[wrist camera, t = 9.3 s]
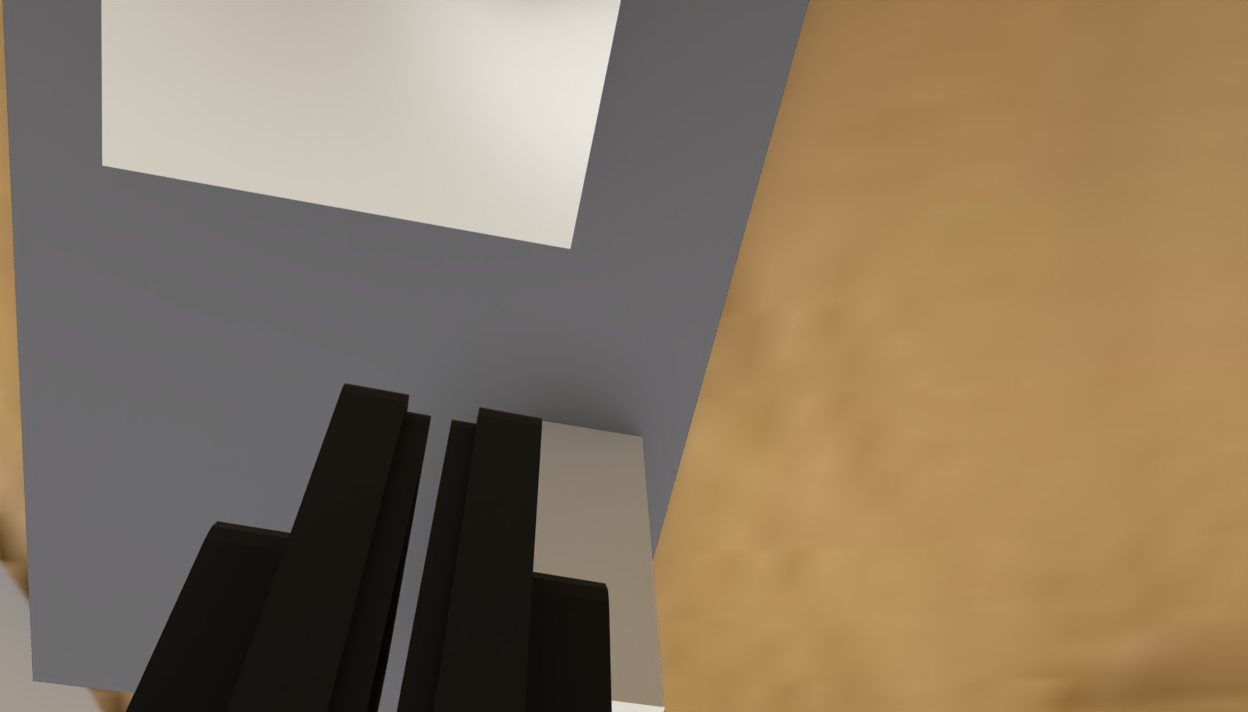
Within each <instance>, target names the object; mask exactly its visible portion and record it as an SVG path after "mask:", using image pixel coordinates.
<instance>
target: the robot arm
mask: <svg viewBox="0 0 1248 712" xmlns="http://www.w3.org/2000/svg"><path fill="white" fill-rule="evenodd" d="M408 403H409V394H404V393H398V392H392V391H387V390H381V389H375V388H370V387H364V386H359V385H353V384H347V383H345V384H344V385H343V388H342V390H341V392H340V395H339V398H338V401H337V404H336V407H335V409H334V412H333V415H332V418H331V421H330V423H329V426H328V429H327V432H326V435H325V437H324V440H323V443H322V446H321V449H320V451H319V454H318V457H317V460H316V463H315V465H314V468H313V471H312V474H311V477H310V479H309V482H308V485H307V488H306V491H305V493H304V496H303V499H302V502H301V505H300V508H299V510H298V513H297V516H296V519H295V522H294V524H293V527H292V530H291V533H288V532H282V531H276V530H270V529H263V528H257V527H251V526H245V525H239V524H232V523H226V522H220V521H217V522H216V523H215V524H214V525H212V527H211V528H210V530H209V532H208V534H207V536H206V538H205V539H204V542H203V544H202V546H201V548H200V550H199V553H198V555H197V557H196V559H195V561H194V564H193V566H192V568H191V570H190V572H189V575H188V577H187V579H186V581H185V583H184V586H183V588H182V590H181V592H180V594H179V596H178V599H177V601H176V603H175V605H174V607H173V610H172V612H171V614H170V616H169V618H168V621H167V623H166V625H165V627H164V629H163V632H162V634H161V636H160V638H159V640H158V643H157V645H156V647H155V649H154V651H153V654H152V656H151V658H150V660H149V662H148V664H147V667H146V669H145V671H144V673H143V675H142V678H141V680H140V682H139V684H138V686H137V689H136V691H135V693H134V695H133V697H132V700H131V702H130V704H129V706H128V708H127V711H126V712H378V709H379V704H380V700H381V695H382V690H383V685H384V680H385V675H386V669H387V664H388V659H389V653H390V648H391V642H392V637H393V631H394V625H395V620H396V614H397V608H398V603H399V597H400V591H401V586H402V580H403V574H404V569H405V563H406V557H407V552H408V546H409V540H410V535H411V529H412V523H413V518H414V512H415V506H416V501H417V495H418V489H419V484H420V478H421V472H422V467H423V461H424V455H425V449H426V444H427V438H428V432H429V427H430V421H431V416H430V415H425V414H419V413H413V412H408V411H407V410H408ZM541 436H542V418H538V417H533V416H527V415H521V414H516V413H510V412H505V411H499V410H493V409H488V408H482V407H480V408H479V412H478V416H477V421H476V423H470V422H464V421H459V420H453V419H452V420H451V426H450V431H449V436H448V441H447V447H446V452H445V457H444V463H443V468H442V473H441V479H440V484H439V489H438V495H437V500H436V505H435V510H434V516H433V521H432V526H431V532H430V537H429V542H428V548H427V553H426V558H425V564H424V569H423V574H422V579H421V585H420V590H419V595H418V601H417V606H416V611H415V617H414V622H413V627H412V633H411V638H410V643H409V648H408V654H407V659H406V664H405V670H404V675H403V680H402V686H401V691H400V696H399V702H398V707H397V712H612V696H611V655H610V614H609V595H608V588H607V586H606V584H605V583H600V582H594V581H588V580H582V579H575V578H569V577H563V576H557V575H551V574H544V573H538V572H533V565H534V549H535V533H536V517H537V501H538V485H539V469H540V452H541Z"/></svg>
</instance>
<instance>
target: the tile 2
mask: <svg viewBox="0 0 1248 712" xmlns="http://www.w3.org/2000/svg"><path fill="white" fill-rule="evenodd" d="M533 572H538V573H544V574H551V575H557V576H563V577H569V578H575V579H582V580H588V581H594V582H600V583H605V584H606V586H607V588H608V595H609V614H610V655H611V696H612V712H664V708H665V704H664V692H663V680H662V668H661V656H660V644H659V632H658V620H657V608H656V596H655V584H654V572H653V560H652V548H651V535H650V523H649V511H648V499H647V487H646V475H645V463H644V451H643V439H642V437H641V436H634V435H628V434H622V433H615V432H609V431H603V430H597V429H590V428H584V427H578V426H571V425H565V424H559V423H553V422H546V421H542V436H541V452H540V469H539V485H538V501H537V517H536V533H535V549H534V565H533Z"/></svg>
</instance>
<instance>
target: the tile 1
mask: <svg viewBox="0 0 1248 712" xmlns="http://www.w3.org/2000/svg"><path fill="white" fill-rule="evenodd" d="M620 2H621V0H101V23H102V166H108V167H113V168H119V169H125V170H130V171H136V172H141V173H147V174H153V175H158V176H164V177H169V178H175V179H181V180H186V181H192V182H197V183H203V184H209V185H214V186H220V187H225V188H231V189H237V190H242V191H248V192H253V193H259V194H265V195H270V196H276V197H281V198H287V199H293V200H298V201H304V202H309V203H315V204H321V205H326V206H332V207H337V208H343V209H349V210H354V211H360V212H365V213H371V214H377V215H382V216H388V217H393V218H399V219H405V220H410V221H416V222H421V223H427V224H433V225H438V226H444V227H449V228H455V229H461V230H466V231H472V232H477V233H483V234H489V235H494V236H500V237H505V238H511V239H517V240H522V241H528V242H533V243H539V244H545V245H550V246H556V247H561V248H567V249H570V248H571V243H572V238H573V233H574V228H575V223H576V218H577V213H578V209H579V204H580V199H581V194H582V189H583V184H584V179H585V174H586V169H587V164H588V159H589V155H590V150H591V145H592V140H593V135H594V130H595V125H596V120H597V115H598V110H599V105H600V101H601V96H602V91H603V86H604V81H605V76H606V71H607V66H608V61H609V56H610V52H611V47H612V42H613V37H614V32H615V27H616V22H617V17H618V12H619V7H620Z"/></svg>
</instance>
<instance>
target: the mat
mask: <svg viewBox="0 0 1248 712" xmlns="http://www.w3.org/2000/svg"><path fill="white" fill-rule="evenodd" d="M808 2H809V0H621V2H620V7H619V12H618V17H617V22H616V27H615V32H614V37H613V42H612V47H611V52H610V56H609V61H608V66H607V71H606V76H605V81H604V86H603V91H602V96H601V101H600V105H599V110H598V115H597V120H596V125H595V130H594V135H593V140H592V145H591V150H590V155H589V159H588V164H587V169H586V174H585V179H584V184H583V189H582V194H581V199H580V204H579V209H578V213H577V218H576V223H575V228H574V233H573V238H572V243H571V248H570V249H567V248H561V247H556V246H550V245H545V244H539V243H533V242H528V241H522V240H517V239H511V238H505V237H500V236H494V235H489V234H483V233H477V232H472V231H466V230H461V229H455V228H449V227H444V226H438V225H433V224H427V223H421V222H416V221H410V220H405V219H399V218H393V217H388V216H382V215H377V214H371V213H365V212H360V211H354V210H349V209H343V208H337V207H332V206H326V205H321V204H315V203H309V202H304V201H298V200H293V199H287V198H281V197H276V196H270V195H265V194H259V193H253V192H248V191H242V190H237V189H231V188H225V187H220V186H214V185H209V184H203V183H197V182H192V181H186V180H181V179H175V178H169V177H164V176H158V175H153V174H147V173H141V172H136V171H130V170H125V169H119V168H113V167H108V166H102V23H101V0H3V23H4V45H5V67H6V90H7V112H8V134H9V156H10V179H11V201H12V223H13V246H14V268H15V290H16V313H17V335H18V357H19V380H20V402H21V424H22V447H23V469H24V491H25V514H26V536H27V558H28V581H29V603H30V623H31V624H30V625H31V647H32V670H33V681H39V682H47V683H55V684H63V685H71V686H79V687H87V688H95V689H103V690H111V691H119V692H127V693H135V691H136V689H137V686H138V684H139V682H140V680H141V678H142V675H143V673H144V671H145V669H146V667H147V664H148V662H149V660H150V658H151V656H152V654H153V651H154V649H155V647H156V645H157V643H158V640H159V638H160V636H161V634H162V632H163V629H164V627H165V625H166V623H167V621H168V618H169V616H170V614H171V612H172V610H173V607H174V605H175V603H176V601H177V599H178V596H179V594H180V592H181V590H182V588H183V586H184V583H185V581H186V579H187V577H188V575H189V572H190V570H191V568H192V566H193V564H194V561H195V559H196V557H197V555H198V553H199V550H200V548H201V546H202V544H203V542H204V539H205V538H206V536H207V534H208V532H209V530H210V528H211V527H212V525H214V524H215V523H216V522H217V521H220V522H226V523H232V524H239V525H245V526H251V527H257V528H263V529H270V530H276V531H282V532H288V533H291V530H292V527H293V524H294V522H295V519H296V516H297V513H298V510H299V508H300V505H301V502H302V499H303V496H304V493H305V491H306V488H307V485H308V482H309V479H310V477H311V474H312V471H313V468H314V465H315V463H316V460H317V457H318V454H319V451H320V449H321V446H322V443H323V440H324V437H325V435H326V432H327V429H328V426H329V423H330V421H331V418H332V415H333V412H334V409H335V407H336V404H337V401H338V398H339V395H340V392H341V390H342V388H343V385H344V384H345V383H347V384H353V385H359V386H364V387H370V388H375V389H381V390H387V391H392V392H398V393H404V394H409V403H408V410H407V411H408V412H413V413H419V414H425V415H430V416H431V421H430V427H429V432H428V438H427V444H426V449H425V455H424V461H423V467H422V472H421V478H420V484H419V489H418V495H417V501H416V506H415V512H414V518H413V523H412V529H411V535H410V540H409V546H408V552H407V557H406V563H405V569H404V574H403V580H402V586H401V591H400V597H399V603H398V608H397V614H396V620H395V625H394V631H393V637H392V642H391V648H390V653H389V659H388V664H387V669H386V675H385V680H384V685H383V690H382V695H381V700H380V704H379V709H378V712H397V707H398V702H399V696H400V691H401V686H402V680H403V675H404V670H405V664H406V659H407V654H408V648H409V643H410V638H411V633H412V627H413V622H414V617H415V611H416V606H417V601H418V595H419V590H420V585H421V579H422V574H423V569H424V564H425V558H426V553H427V548H428V542H429V537H430V532H431V526H432V521H433V516H434V510H435V505H436V500H437V495H438V489H439V484H440V479H441V473H442V468H443V463H444V457H445V452H446V447H447V441H448V436H449V431H450V426H451V420H452V419H453V420H459V421H464V422H470V423H476V421H477V416H478V412H479V408H480V407H482V408H488V409H493V410H499V411H505V412H510V413H516V414H521V415H527V416H533V417H538V418H542V421H546V422H553V423H559V424H565V425H571V426H578V427H584V428H590V429H597V430H603V431H609V432H615V433H622V434H628V435H634V436H641V437H642V439H643V451H644V463H645V475H646V487H647V499H648V511H649V523H650V535H651V548H652V560H653V557H654V554H655V550H656V546H657V543H658V539H659V536H660V532H661V529H662V525H663V521H664V518H665V514H666V511H667V507H668V504H669V500H670V496H671V493H672V489H673V486H674V482H675V478H676V475H677V471H678V468H679V464H680V461H681V457H682V453H683V450H684V446H685V443H686V439H687V436H688V432H689V428H690V425H691V421H692V418H693V414H694V410H695V407H696V403H697V400H698V396H699V393H700V389H701V385H702V382H703V378H704V375H705V371H706V367H707V364H708V360H709V357H710V353H711V350H712V346H713V342H714V339H715V335H716V332H717V328H718V325H719V321H720V317H721V314H722V310H723V307H724V303H725V299H726V296H727V292H728V289H729V285H730V282H731V278H732V274H733V271H734V267H735V264H736V260H737V257H738V253H739V249H740V246H741V242H742V239H743V235H744V231H745V228H746V224H747V221H748V217H749V214H750V210H751V206H752V203H753V199H754V196H755V192H756V189H757V185H758V181H759V178H760V174H761V171H762V167H763V163H764V160H765V156H766V153H767V149H768V146H769V142H770V138H771V135H772V131H773V128H774V124H775V121H776V117H777V113H778V110H779V106H780V103H781V99H782V95H783V92H784V88H785V85H786V81H787V78H788V74H789V70H790V67H791V63H792V60H793V56H794V52H795V49H796V45H797V42H798V38H799V35H800V31H801V27H802V24H803V20H804V17H805V13H806V10H807V6H808Z"/></svg>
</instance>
